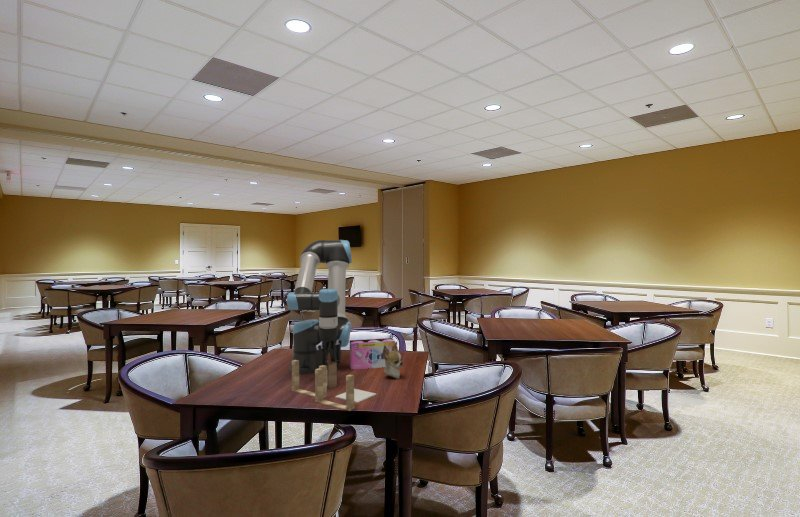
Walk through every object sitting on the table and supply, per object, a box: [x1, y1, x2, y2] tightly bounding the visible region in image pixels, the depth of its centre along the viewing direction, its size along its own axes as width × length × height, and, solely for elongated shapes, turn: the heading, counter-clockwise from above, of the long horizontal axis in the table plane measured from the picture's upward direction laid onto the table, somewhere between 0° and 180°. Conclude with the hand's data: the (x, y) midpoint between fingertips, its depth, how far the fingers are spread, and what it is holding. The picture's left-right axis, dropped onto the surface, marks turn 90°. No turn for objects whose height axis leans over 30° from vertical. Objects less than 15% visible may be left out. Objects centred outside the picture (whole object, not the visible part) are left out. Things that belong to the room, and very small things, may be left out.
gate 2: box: [314, 368, 355, 412], centre depth 151 cm, size 17×2×12 cm, turn 56°
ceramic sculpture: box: [383, 341, 403, 380], centre depth 186 cm, size 11×9×15 cm
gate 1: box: [291, 360, 328, 399], centre depth 164 cm, size 17×2×12 cm, turn 56°
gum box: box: [349, 337, 396, 370], centre depth 205 cm, size 22×7×13 cm, turn 103°
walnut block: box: [326, 360, 338, 390], centre depth 173 cm, size 4×4×10 cm
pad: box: [334, 388, 377, 404], centre depth 161 cm, size 11×11×1 cm
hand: (328, 383), depth 173 cm, fingers closed on walnut block, 4 cm apart
